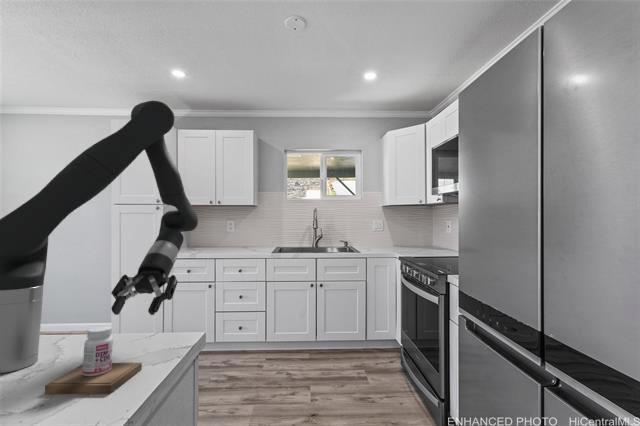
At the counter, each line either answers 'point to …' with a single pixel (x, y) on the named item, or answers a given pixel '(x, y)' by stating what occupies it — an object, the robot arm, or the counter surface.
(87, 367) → the pill bottle
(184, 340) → the counter surface
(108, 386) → the walnut tray
